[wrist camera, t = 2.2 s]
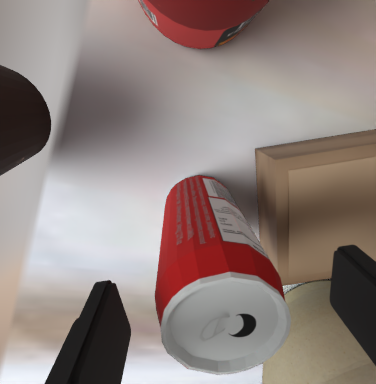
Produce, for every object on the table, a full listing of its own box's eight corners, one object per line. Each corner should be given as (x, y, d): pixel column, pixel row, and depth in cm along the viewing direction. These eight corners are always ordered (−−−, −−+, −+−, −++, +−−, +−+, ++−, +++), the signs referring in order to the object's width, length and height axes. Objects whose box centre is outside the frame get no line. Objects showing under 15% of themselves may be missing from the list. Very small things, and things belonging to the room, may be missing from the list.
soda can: (160, 227, 20) (139, 379, 9) (173, 167, 18) (167, 263, 7) (221, 238, 21) (272, 393, 10) (239, 181, 19) (328, 290, 8)
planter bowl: (207, 339, 25) (228, 498, 15) (302, 222, 21) (424, 336, 11) (318, 381, 29) (397, 534, 18) (421, 289, 24) (600, 423, 14)
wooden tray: (432, 228, 22) (488, 254, 18) (260, 255, 22) (278, 287, 18) (460, 115, 18) (536, 118, 14) (255, 148, 18) (275, 160, 14)
